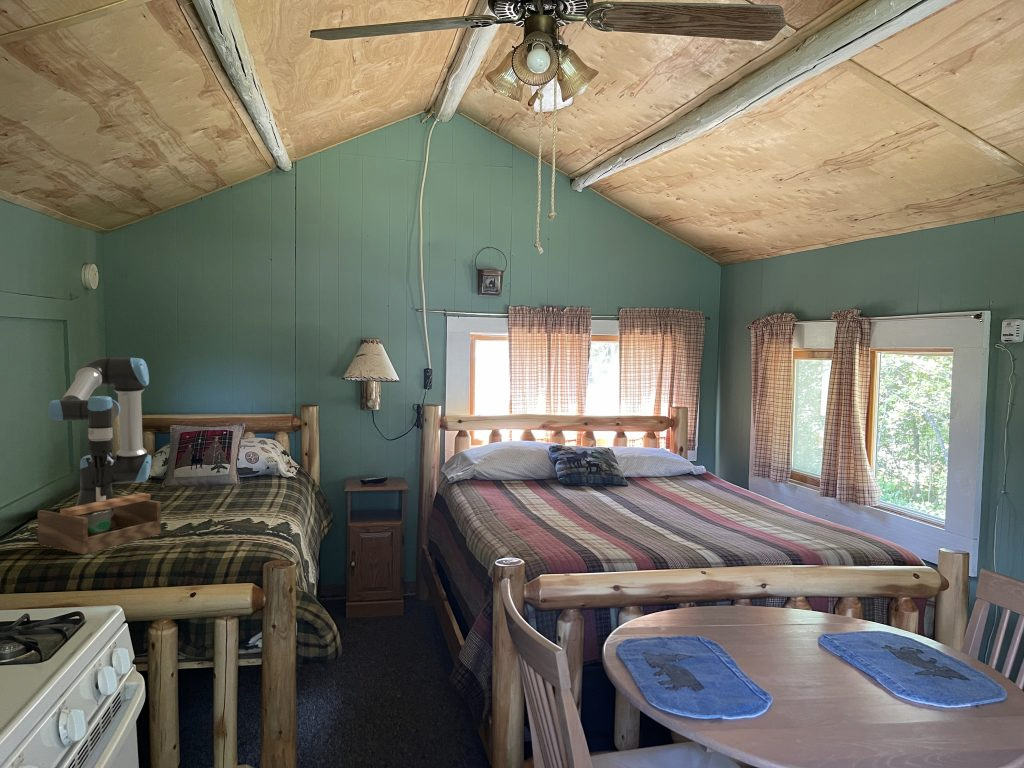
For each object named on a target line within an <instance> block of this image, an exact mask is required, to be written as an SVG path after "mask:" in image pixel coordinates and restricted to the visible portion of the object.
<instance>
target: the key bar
mask: <svg viewBox="0 0 1024 768" xmlns="http://www.w3.org/2000/svg"><path fill="white" fill-rule="evenodd" d="M122 496H123V497H118V498H114V499H109V500H104V501H99V502H94V503H89V504H84V505H79V506H76V505H75V506H70V507H64V508H60V509H59V513H60V515H62V516H68V517H71V516H82V515H86V514H89V513H90V514H91V513H95V511H99V510H104V509H109V508H113V507H118V506H123V505H127V504H132V503H137V502H141V501H146V500H151V493H144V492H138V493H134V494H129V495H122ZM99 512H100V511H99Z"/></svg>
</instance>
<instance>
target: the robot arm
mask: <svg viewBox="0 0 1024 768" xmlns="http://www.w3.org/2000/svg"><path fill="white" fill-rule="evenodd" d="M74 378H75V380H74V381H73V382H72V384H71V385H70V387H69V388H68V390H67V391H66V393H64V395H63V397H62V398H61V399H53V400H50V401H49V403H48V409H47V413H48V418H49V419H50V420H52V421H60V422H63V421H64V422H67V421H69V422H70V421H87V422H88V423H87V425H88V426H87V427H88V430H87V431H88V434H87V435H88V439H89V440H88V441H87V442H88V448H87V449H88V451H89V452H91V453H90V454H89V455H85V456H83V457H82V458H81V459H80V460H79V462H80V463H79V478H80V479H79V483H80V484H79V485H80V486H79V487H80V489H79V490H80V491H79V495H78V497H77V500H76V503H75V506H79V505H84V504H89V503H94V502H99V501H104V500H109V499H113V496H115V494H114V491H113V484H130V483H131V484H133V483H134V484H136V483H144V482H146V481H147V480H148V479H149V476H150V472H151V469H152V455H150V454H148V451H147V449H145V448H144V446H143V443H144V441H143V416H142V415H143V413H142V409H143V408H142V393H143V392H144V391H145V390H146V386H147V387H148V385H149V383H150V375H149V369H148V365H147V362H146V361H145V360H144V359H143V358H139V357H99V358H96V359H94V360H91V361H89V362H87V363H85V364H84V365H82V366H80V368H79V369H78V370H77V371H76V373H75V377H74ZM101 386H109V387H110V386H112V387H113V391H114V392H115V393H116V394H117V400H118V401H116V400H114V399H112V397H111V396H107V395H97V396H95V395H94V396H91V395H92V394H93V392H94V390H95V389H97V388H99V387H101ZM117 417H118V427H119V429H118V430H119V449H118V450H117V451H116V453H115V455H113V454H112V452H110V451H112V450H113V449H114V448H113V447H114V446H113V438H114V436H113V435H114V433H113V420H114V419H115V418H117ZM110 509H112V510H113V508H110ZM104 510H105V509H104ZM104 510H99V511H95V512H101V511H104ZM95 512H94V513H95Z"/></svg>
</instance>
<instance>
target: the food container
mask: <svg viewBox="0 0 1024 768" xmlns="http://www.w3.org/2000/svg"><path fill="white" fill-rule="evenodd" d="M112 516H113V509H110V508H109V509H105V510H104V511H99V512H91V513H90V514H81V515H80V517H85V518H87V522H88V537H91V536H95V535H99V534H103V533H107V532H111V528H110V526H111V517H112Z"/></svg>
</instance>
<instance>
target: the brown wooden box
mask: <svg viewBox="0 0 1024 768" xmlns="http://www.w3.org/2000/svg"><path fill="white" fill-rule="evenodd" d="M123 496H124V495H117V494H114V496H113V499H114V498H118V497H123ZM161 504H162V501H158V500H151V499H150V500H146V501H141V502H137V503H132V504H127V505H123V506H118V507H113V509H112V511H113V516H112V517H111V526H110V529H113V528H114V529H115V528H118V527H119V528H120V529H119V528H118V529H115V530H112V531H111V530H110V532H107V533H103V534H99V535H95V536H91V537H88V522H87V518H85V517H81V516H80V515H76V516H71V517H68V516H62V515H60V512H56V511H49V510H45V509H39V510H37V545H38V544H42V545H46V546H51V547H55V548H54V549H56V548H60V549H63V550H62V551H65V550H67V551H66V552H70V551H71V553H75V552H76V553H75V554H81V555H86V554H91V553H93V552H94V553H95V552H97V551H98V552H99V551H100V550H102V551H103V550H104V549H108V548H112V547H113V548H114V547H116V546H119V545H123V544H128V543H130V542H134V541H135V542H136V541H139V540H142V539H146V538H149V537H153V536H158V535H161V534H162V522H161V521H162V516H161V515H162V511H161V508H162V507H161ZM46 546H45V547H46ZM51 547H50V548H51ZM60 549H59V550H60Z"/></svg>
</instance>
